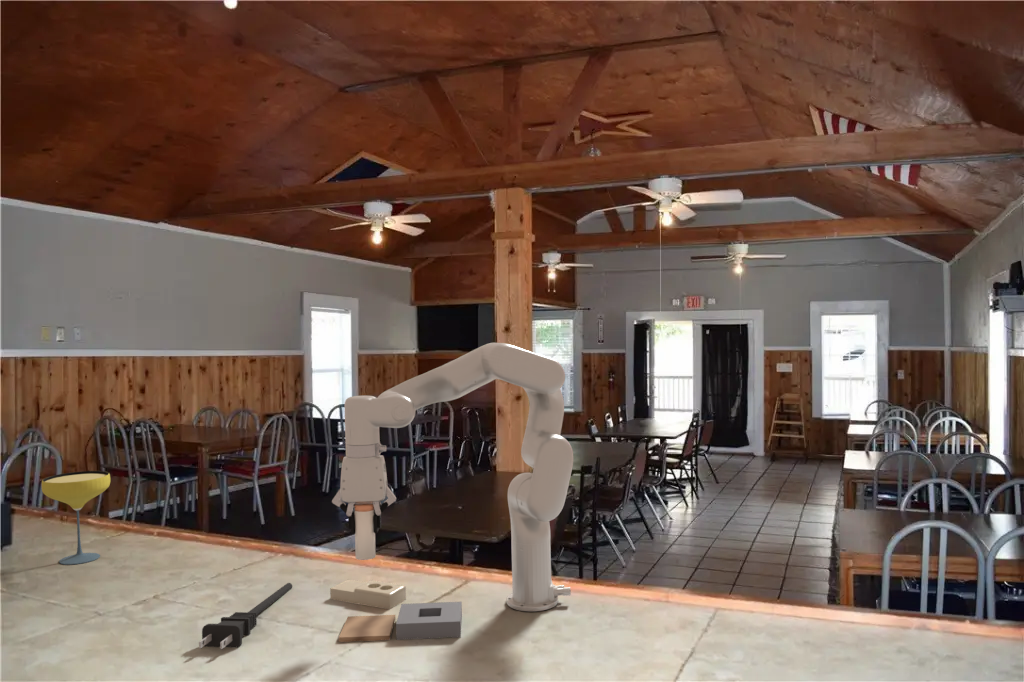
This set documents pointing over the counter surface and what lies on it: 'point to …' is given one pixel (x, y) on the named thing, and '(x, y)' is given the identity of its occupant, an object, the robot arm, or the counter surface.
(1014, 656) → the counter surface
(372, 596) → the electrical outlet
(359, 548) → the plug
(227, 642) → the electrical plug
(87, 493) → the cocktail glass
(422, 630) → the socket block
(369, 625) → the board
